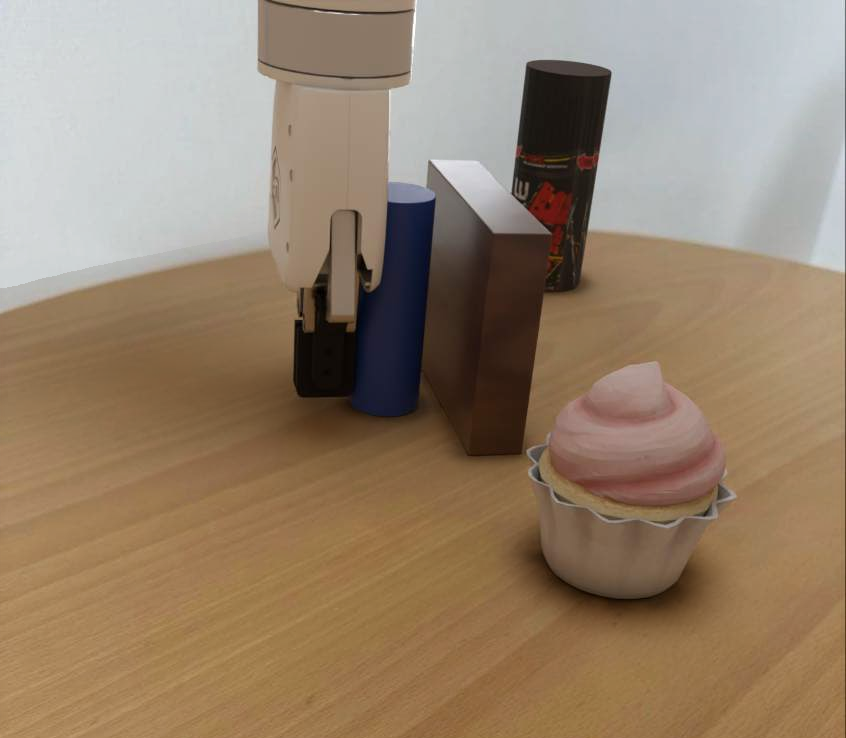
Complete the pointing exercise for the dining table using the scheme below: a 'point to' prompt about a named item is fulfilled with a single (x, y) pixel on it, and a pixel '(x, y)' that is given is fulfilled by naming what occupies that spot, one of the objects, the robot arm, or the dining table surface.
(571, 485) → the cupcake
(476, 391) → the block
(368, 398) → the tube
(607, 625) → the dining table surface
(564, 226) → the deodorant
